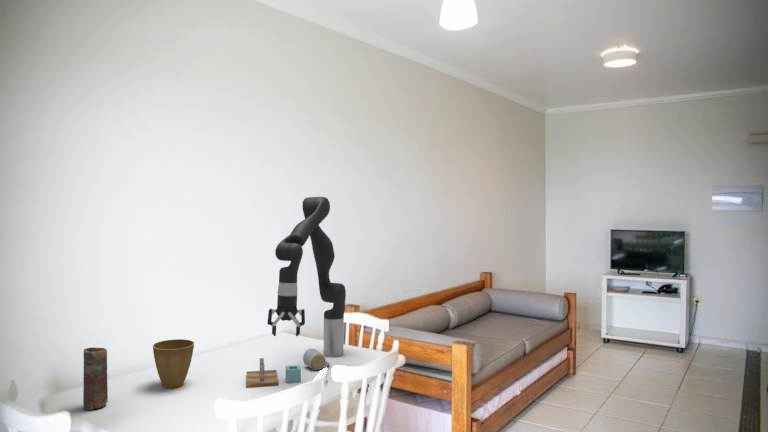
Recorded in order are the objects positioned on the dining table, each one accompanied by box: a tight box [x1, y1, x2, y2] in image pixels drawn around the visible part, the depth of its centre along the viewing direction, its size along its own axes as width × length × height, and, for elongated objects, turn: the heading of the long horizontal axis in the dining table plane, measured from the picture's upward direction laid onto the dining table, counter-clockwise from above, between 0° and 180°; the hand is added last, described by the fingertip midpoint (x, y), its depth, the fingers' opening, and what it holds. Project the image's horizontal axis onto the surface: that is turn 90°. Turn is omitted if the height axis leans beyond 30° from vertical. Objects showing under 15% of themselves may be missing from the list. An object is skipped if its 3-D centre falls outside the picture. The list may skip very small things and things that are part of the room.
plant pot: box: [152, 338, 195, 389], centre depth 207 cm, size 15×15×16 cm
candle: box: [82, 347, 109, 411], centre depth 185 cm, size 8×7×20 cm
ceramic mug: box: [302, 348, 331, 371], centre depth 230 cm, size 11×8×8 cm
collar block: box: [285, 364, 302, 384], centre depth 214 cm, size 6×6×5 cm
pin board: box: [245, 357, 279, 389], centre depth 214 cm, size 16×12×7 cm
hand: (285, 335), depth 210 cm, fingers open, 8 cm apart
